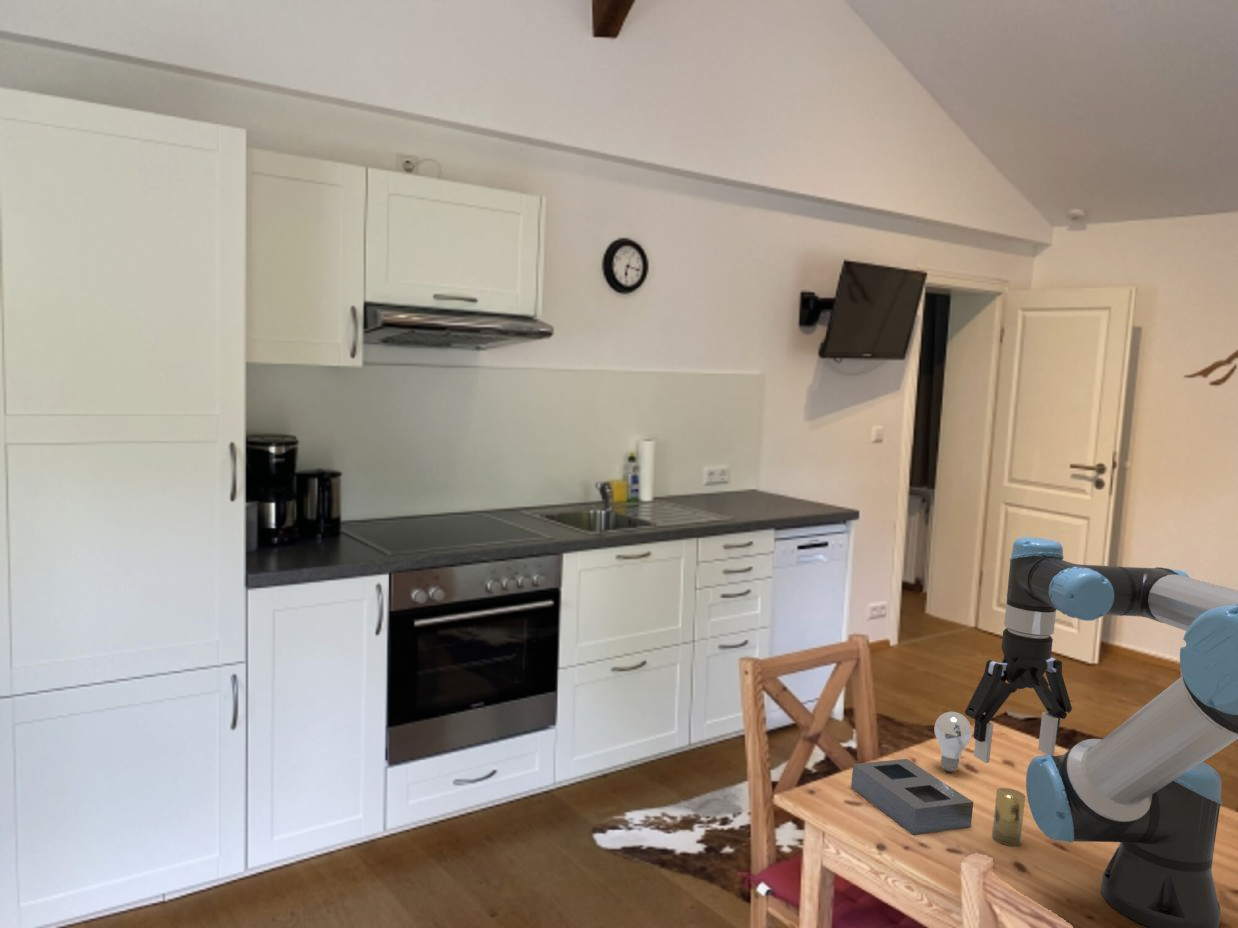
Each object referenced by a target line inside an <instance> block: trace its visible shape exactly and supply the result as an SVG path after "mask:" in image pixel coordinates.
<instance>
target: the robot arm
mask: <svg viewBox="0 0 1238 928" xmlns="http://www.w3.org/2000/svg"><path fill="white" fill-rule="evenodd" d="M1057 611H1059V612H1060V613H1061V614H1063V615H1066V616H1067V617H1068V618H1069V617H1070V618H1073V619H1078V620H1081V621H1087V622H1089V621H1095V620H1098V619H1099V618H1102V617H1104V616H1114V617H1115V616H1117V617H1119V616H1121V617H1124V616H1125V617H1138V618H1139V617H1142V618H1147V619H1149V620H1152V621H1156V622H1157V623H1158V622H1159V623H1161V624H1165V625H1168V626H1171V627H1174V628H1176V629H1180V630H1183V631H1185V634H1184V635H1183V641H1184V642H1185V646H1181V647H1180V651H1179V664H1180V677H1179V678H1178V679H1177V680H1175V681H1174V682H1173V683H1172V684H1171V685H1169V686H1168V687H1167V688H1165V689H1164V690H1163V691H1162V692H1161V693H1159V694H1158V695H1156V696H1155V697H1154V698H1152V699H1151V700H1150V701H1149V702H1148V703H1146V704H1145V705H1144V706H1143V707H1142V708H1140V709H1139V710H1137V711H1136V712H1135V713H1134V714H1133V715H1131V716H1129V718H1128V719H1126V720H1124V722H1122V723H1121V724H1120V725H1119V726H1117V727H1116V728H1115V729H1114V730H1112V731H1111V732H1109V733H1108V735H1106V736H1104V737H1103V738H1102V739H1101V738H1088V739H1085V740H1084V739H1083V740H1082V741H1080V742H1077V743H1076V744H1074V745H1073V747H1071V748H1069V750H1067V751H1066V752H1065V753H1063V754H1061V755H1055V750H1056V749H1055V748H1056V741H1057V735H1058V734H1059V732H1060V724H1061V722H1060V721H1061V719H1062V720H1065V719H1067V717H1068V714H1069V713H1071V712H1072V710H1073V707H1072V704H1071V700H1070V697H1069V694H1068V690H1067V689H1068V688H1067V687H1066V683H1065V680H1064V675H1063V663H1062V661H1061V660H1059V659H1057V658H1054V657H1052V650H1053V641H1054V639H1053V637H1052V635H1053V634H1055V627H1056V626H1055V625H1056V615H1057ZM1003 626H1004V627H1005V629H1003V631H1002V636H1001V637H1002V639H1001V646H1000V647H1001V651H1002V653H1003V659H1002V661H1001V662H997V661H994V660H992V659H987V661H986V663H985V668H984V673H983V675H982V677H981V679H980V681H979V683H978V684H977V687H976V689H975V691H974V693H973V695H972V697H971V699H970V700H969V702H968V704H967V706H966V708H965V711H964V713H965V716H967V717H969V718H971V719H974V729H973V734H972V736H973V738H974V740H975V743H974V751H973V757H974V758H976V759H979V760H980V761H981V762H983V763H985V764H989V763H990V759H991V758H990V757H991V749H992V742H993V741H992V739H993V730H994V723H992V722H991V720H992V719H993V717H994V716H995V715H996V714H997V712H998V711H999V710H1000V708H1002V706H1003V704H1004V703H1005V702H1006V701H1007V699H1008V698H1009V697H1010V696H1011V694H1013V693H1016V692H1017V690H1023V689H1026V688H1027V689H1033V691H1035V693H1036V695H1037V697H1038V698H1039V700H1040V702H1041V704H1042V705H1043V707H1044V708H1045V710H1046V711H1047V712H1045V711H1044V712H1041V721H1040V728H1039V730H1040V731H1039V739H1038V748H1037V750H1039V751H1040V752H1042V753H1044V755H1036V756H1034V757H1033V758H1032V759H1031V761H1030V762H1029V764H1028V766H1027V768H1026V769H1027V770H1026V776H1025V786H1026V788H1025V789H1026V797H1027V801H1028V806H1029V810H1030V812H1031V815H1032V818H1033V820H1034V822H1035V824H1036V826H1037V827H1038V830H1040V831H1041V832H1042V833H1043V834H1044V835H1045V836H1046V837H1047V838H1048V839H1051V840H1053V841H1059V842H1066V843H1071V844H1073V843H1074V842H1079V843H1080V842H1081V843H1082V842H1088V843H1089V842H1091V843H1093V842H1096V843H1097V842H1098V843H1101V842H1103V843H1119V845H1118V846H1117V848H1116V850H1115V852H1114V853H1113V855H1112V857H1111V859H1110V861H1109V862H1108V864H1107V866H1106V868H1105V870H1104V872H1103V874H1102V878H1101V885H1100V887H1101V888H1100V892H1101V895H1102V897H1103V898H1104V900H1105V901H1106V902H1107V903H1108V904H1109V905H1110V906H1111V907H1112V908H1113V909H1115V910H1116V911H1117V912H1119V914H1122V915H1123V916H1125V917H1126V918H1128V919H1130V920H1132V921H1134V922H1137V923H1138V924H1141V925H1143V926H1145V927H1147V928H1220V922H1221V915H1222V913H1221V912H1222V910H1221V906H1220V903H1219V901H1218V896H1217V890H1216V886H1215V880H1214V877H1213V871H1212V869H1213V868H1212V867H1213V859H1214V853H1215V852H1214V850H1215V845H1216V844H1215V843H1216V836H1217V829H1218V822H1219V815H1220V811H1221V810H1220V809H1221V805H1222V803H1223V802H1222V798H1221V797H1222V778H1221V776H1220V774H1219V773H1218V771H1217V770H1216V769H1214V768H1213V767H1212V766H1211V765H1209V764H1208V763H1206V762H1204V761H1206V760H1208V759H1209V758H1211V757H1212V756H1214V755H1216V754H1217V753H1219V752H1221V750H1223V749H1224V748H1227V747H1228V746H1229V745H1231V744H1233V743H1234V742H1236V741H1237V740H1238V590H1237V589H1233V588H1231V587H1230V588H1229V587H1227V586H1222V585H1219V584H1214V583H1210V582H1206V581H1204V580H1200V579H1195V578H1191V577H1190V576H1189V574H1188V573H1186V572H1185V571H1183V570H1180V569H1174V568H1167V567H1161V566H1160V567H1131V566H1130V567H1129V566H1116V565H1115V566H1114V565H1113V566H1111V565H1097V564H1096V565H1094V564H1078V563H1073V562H1069V561H1066V560H1064V548H1063V546H1062V544H1061V543H1060V542H1059V541H1055V540H1052V539H1047V538H1043V537H1042V538H1041V537H1031V536H1023V537H1019V538H1016V539H1015V540H1014V542H1013V544H1012V550H1011V556H1010V558H1009V569H1008V583H1007V592H1006V605H1005V611H1004V622H1003ZM1044 675H1046V678H1047V679H1046V678H1045V676H1044Z"/></svg>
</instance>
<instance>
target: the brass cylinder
mask: <svg viewBox="0 0 1238 928" xmlns="http://www.w3.org/2000/svg"><path fill="white" fill-rule="evenodd" d="M995 795H996V797H995V805H994V815H993V822H992V824H993V825H992V834H991V838H992V839H993V840H994V841H995V842H997V843H998V844H1000V845H1003V846H1007V847H1019V846H1020V845H1021V842H1022V841H1021V840H1022V831H1023V822H1024V814H1025V802H1026V795H1025V794H1024V793H1023V792H1021V791H1019V790H1016V789H1013V788H1009V787H1000V788H998V789H996V794H995Z"/></svg>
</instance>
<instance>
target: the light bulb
mask: <svg viewBox="0 0 1238 928" xmlns="http://www.w3.org/2000/svg"><path fill="white" fill-rule="evenodd" d="M934 734H935V738H936V740H937V742H938V743H939V748H940V749H939V750H940V754H941V757H940V758H941V759H940V766H941V767H942V769H943V770H945V772H947V773H948V774H949V773H953V772H955V771H957V770H958V768H959V766H960V765H959V764H960V758H961V756H962V753H963V750H964V749H965V747H967V745H968V744H969V743H970V741H971V739H972V736H973V729H972V725H971V723H970V721H969V720H968V718H967V717H966V716H965V715H963V714H961V713H960V712H957V711H946V712H944V713H942V714H940V715H939V717H938V718H937V719H936V721H935V723H934Z"/></svg>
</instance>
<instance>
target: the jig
mask: <svg viewBox="0 0 1238 928" xmlns="http://www.w3.org/2000/svg"><path fill="white" fill-rule="evenodd" d="M850 784H851V785H850V788H851V789H853V790H854V791H855V792H856V793H858V795H860V796H862V797H863V798H864V799H866V800H867V801H868V802H870V803H871V805H873V806H874V807H876V808H877V809H879V810H880V811H882V813H884V814H885V815H887V816H888V817H889V818H890V819H892V820H893V821H894V822H896V823H897V824H898V825H899V826H900V827H902V828H903V829H905V830H906V831H908V832H909V833H910V834H911V835H914V836H915V835H922V834H929V833H930V834H931V833H938V832H944V831H951V830H959V829H960V830H961V829H965V828H967V829H968V828H971V827H972V819H973V812H974V811H973V808H974V801H973V800H971V799H969V798H968V797H966V796H965V795H964V794H962V793H960V792H959V791H958V790H955V789H954V788H953V787H952V786H950V785H948V784H946V782H943V780H941V779H939V778H937V777H936V776H934V775H933V774H932V773H929V772H928V771H926V770H925V769H923V768H922V767H920V766H919V765H917V764H916V763H914V762H912V761H911V760H910V759H908V758H902V759H900V758H899V759H892V760H891V759H890V760H882V761H872V762H862V763H853V764H852V774H851V783H850Z"/></svg>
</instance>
